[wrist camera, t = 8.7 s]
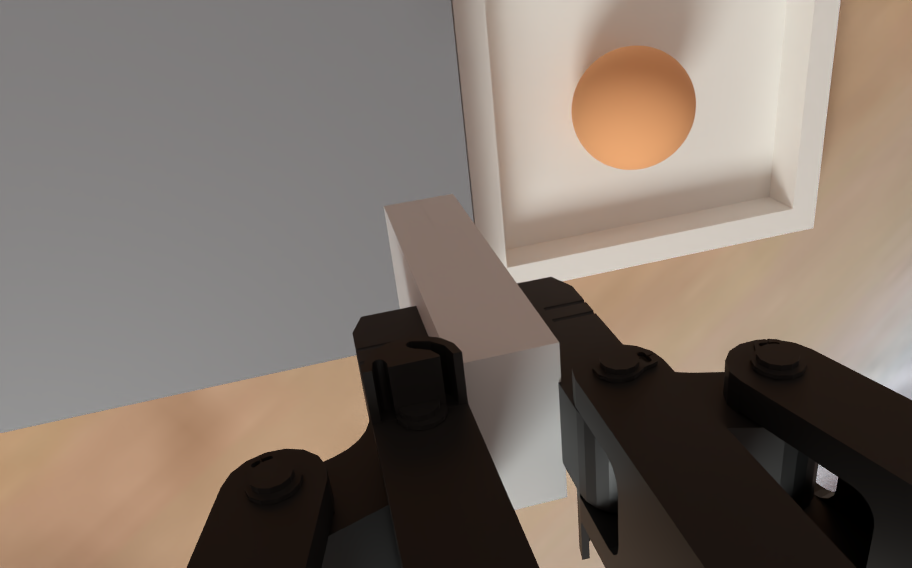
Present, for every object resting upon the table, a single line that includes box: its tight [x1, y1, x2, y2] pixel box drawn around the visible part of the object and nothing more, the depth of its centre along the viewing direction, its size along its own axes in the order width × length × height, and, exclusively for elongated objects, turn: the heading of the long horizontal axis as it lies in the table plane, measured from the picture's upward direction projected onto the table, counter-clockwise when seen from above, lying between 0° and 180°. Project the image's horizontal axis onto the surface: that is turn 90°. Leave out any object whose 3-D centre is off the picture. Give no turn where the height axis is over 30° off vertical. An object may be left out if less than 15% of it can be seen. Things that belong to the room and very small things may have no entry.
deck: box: [0, 0, 474, 433], centre depth 23 cm, size 16×12×4 cm
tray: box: [451, 0, 840, 283], centre depth 26 cm, size 14×12×2 cm
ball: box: [571, 46, 696, 170], centre depth 25 cm, size 4×4×4 cm
